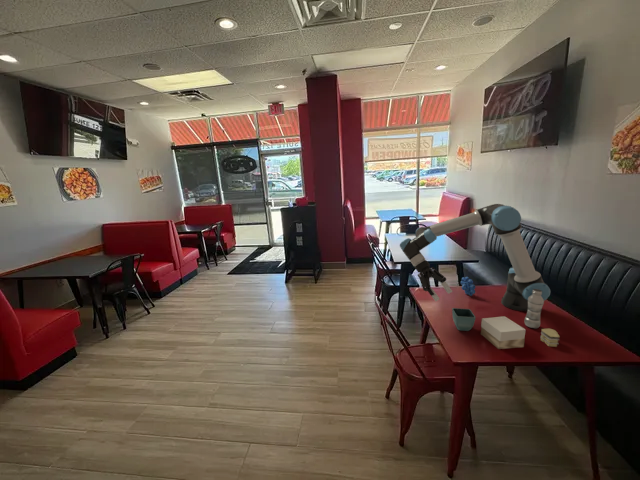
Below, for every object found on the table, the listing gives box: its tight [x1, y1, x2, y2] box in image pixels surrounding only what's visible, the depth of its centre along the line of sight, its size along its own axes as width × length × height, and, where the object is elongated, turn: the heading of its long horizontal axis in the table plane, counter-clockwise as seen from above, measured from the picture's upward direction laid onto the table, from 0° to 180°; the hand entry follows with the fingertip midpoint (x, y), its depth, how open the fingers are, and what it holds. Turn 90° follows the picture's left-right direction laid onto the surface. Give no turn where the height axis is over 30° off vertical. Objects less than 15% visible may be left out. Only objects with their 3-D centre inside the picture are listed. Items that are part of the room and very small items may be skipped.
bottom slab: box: [480, 327, 526, 350], centre depth 126 cm, size 12×12×4 cm
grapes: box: [460, 276, 476, 297], centre depth 173 cm, size 12×7×12 cm, turn 16°
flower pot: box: [451, 307, 476, 332], centre depth 136 cm, size 9×9×9 cm
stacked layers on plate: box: [539, 328, 561, 348], centre depth 123 cm, size 10×9×6 cm
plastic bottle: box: [523, 289, 545, 329], centre depth 134 cm, size 6×7×20 cm
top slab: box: [480, 315, 526, 341], centre depth 125 cm, size 12×12×4 cm
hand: (444, 296), depth 142 cm, fingers open, 13 cm apart
